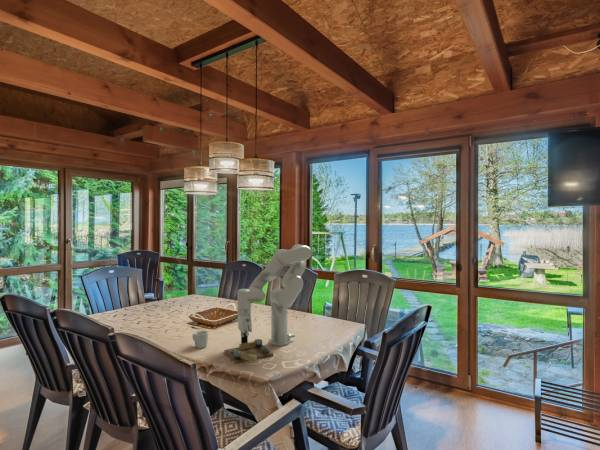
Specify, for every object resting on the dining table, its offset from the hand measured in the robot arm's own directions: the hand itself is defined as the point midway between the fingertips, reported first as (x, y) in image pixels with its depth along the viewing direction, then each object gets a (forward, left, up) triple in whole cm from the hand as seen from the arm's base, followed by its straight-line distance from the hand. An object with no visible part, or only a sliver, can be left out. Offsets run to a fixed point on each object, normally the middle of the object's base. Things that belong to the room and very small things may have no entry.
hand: (244, 343), depth 198 cm
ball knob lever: (-2, +6, -1) cm, 6 cm away
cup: (+21, -16, -3) cm, 26 cm away
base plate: (+2, +10, -3) cm, 10 cm away
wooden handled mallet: (+7, +19, -1) cm, 21 cm away
